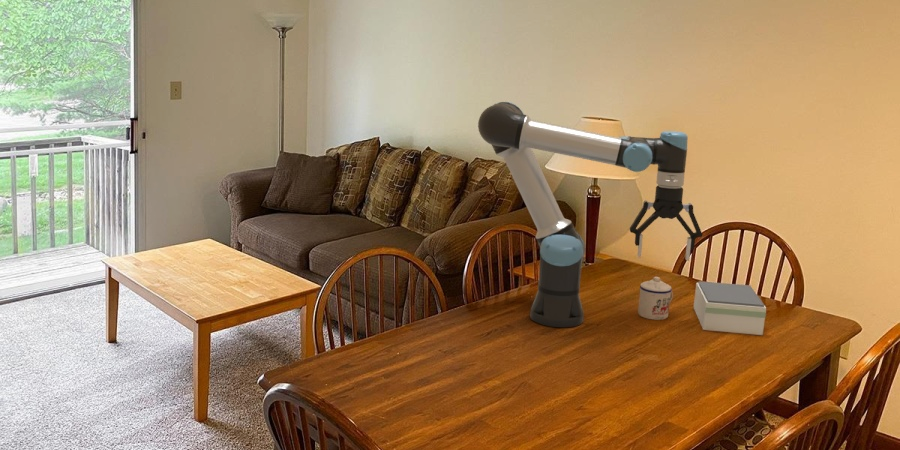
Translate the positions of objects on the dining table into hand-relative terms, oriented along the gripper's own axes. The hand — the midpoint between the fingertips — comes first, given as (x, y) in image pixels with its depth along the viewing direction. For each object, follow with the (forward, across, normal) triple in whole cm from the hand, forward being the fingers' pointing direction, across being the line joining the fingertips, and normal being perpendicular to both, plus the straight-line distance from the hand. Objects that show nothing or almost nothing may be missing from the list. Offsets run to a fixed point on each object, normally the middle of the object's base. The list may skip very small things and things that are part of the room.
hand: (663, 258), depth 230 cm
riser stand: (+18, +20, 0) cm, 26 cm away
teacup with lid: (+18, 0, 0) cm, 18 cm away
